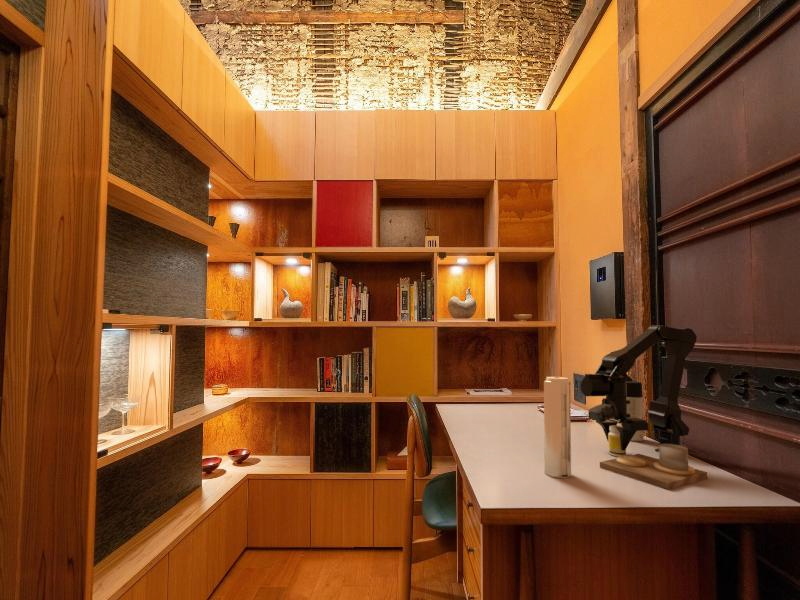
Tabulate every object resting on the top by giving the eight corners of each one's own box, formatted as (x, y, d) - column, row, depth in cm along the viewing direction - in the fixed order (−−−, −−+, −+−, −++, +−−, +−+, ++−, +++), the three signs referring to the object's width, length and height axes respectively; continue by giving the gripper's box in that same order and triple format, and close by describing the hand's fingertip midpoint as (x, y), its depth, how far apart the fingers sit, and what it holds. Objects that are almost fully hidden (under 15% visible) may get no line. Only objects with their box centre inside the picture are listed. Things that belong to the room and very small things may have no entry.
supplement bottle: (628, 457, 125) (627, 428, 126) (611, 456, 126) (610, 427, 127) (623, 453, 130) (622, 425, 130) (606, 451, 131) (606, 424, 131)
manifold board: (638, 458, 124) (638, 433, 125) (707, 478, 109) (706, 449, 109) (599, 467, 115) (599, 440, 116) (668, 489, 100) (667, 458, 100)
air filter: (570, 471, 111) (569, 376, 113) (571, 479, 105) (570, 379, 107) (544, 468, 114) (543, 375, 115) (544, 476, 107) (543, 377, 109)
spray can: (647, 442, 144) (646, 383, 145) (628, 441, 144) (626, 382, 145) (637, 437, 150) (636, 380, 152) (618, 436, 151) (617, 380, 152)
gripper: (573, 392, 136) (574, 441, 135) (616, 401, 118) (617, 458, 117) (603, 391, 139) (603, 439, 138) (649, 400, 121) (650, 456, 120)
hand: (617, 447), depth 128 cm, fingers closed on supplement bottle, 5 cm apart
